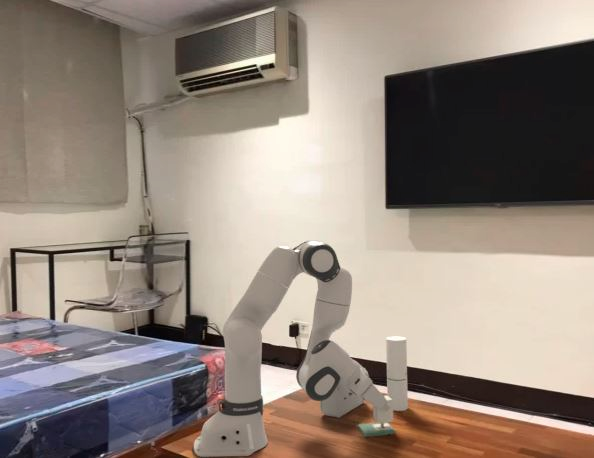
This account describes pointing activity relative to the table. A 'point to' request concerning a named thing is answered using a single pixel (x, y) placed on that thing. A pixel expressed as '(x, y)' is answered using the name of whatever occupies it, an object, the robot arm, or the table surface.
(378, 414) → the block
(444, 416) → the table surface
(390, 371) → the cylindrical container
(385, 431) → the header board
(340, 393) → the stereo radio cassette player
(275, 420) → the table surface
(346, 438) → the table surface
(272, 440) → the table surface
